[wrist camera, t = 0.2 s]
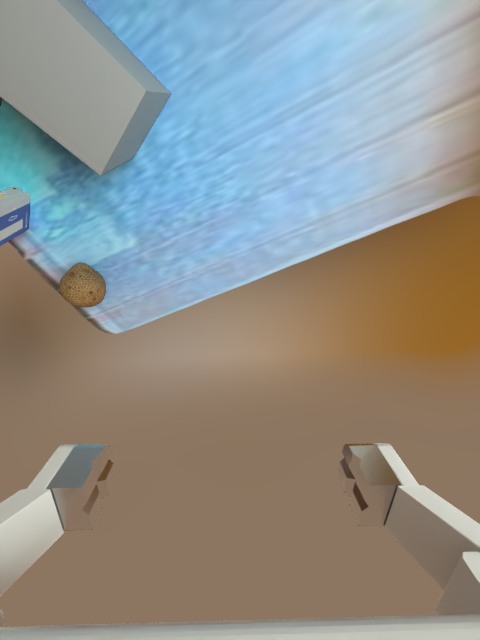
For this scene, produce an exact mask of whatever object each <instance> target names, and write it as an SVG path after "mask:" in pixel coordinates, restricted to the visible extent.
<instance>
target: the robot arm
mask: <svg viewBox="0 0 480 640" xmlns="http://www.w3.org/2000/svg"><path fill="white" fill-rule="evenodd" d="M342 453H343V455H344V459H342V460H341V462H340V464H339V478H340V482H341V485H342V488H343V490H344V492H345V493H346V494H347V495H348V496H349V497H351V500H350V504H349V505H350V508H351V510H352V512H353V515H354V517H355V520H356V522H357V524H358V526H385V529H386V530H387V531H388V532H389V533H390V534H391V535H392V536H393V537H394V538H395V539H396V540H397V541H398V543H399V544H400V545H401V546H402V547H403V548H404V549H405V550H406V551H407V552H408V553H409V554H410V555H411V556H412V557H413V558H414V559H415V560H416V561H417V562H418V563H419V565H420V566H421V567H422V568H423V569H424V570H425V571H426V572H427V573H428V574H429V575H430V576H431V577H432V578H433V579H434V580H435V581H436V582H437V583H438V584H439V585H440V586H441V588H443V593H442V594H441V596H440V598H439V600H438V602H437V605H436V608H435V610H436V612H437V614H438V615H430V616H429V615H427V616H394V617H393V616H392V617H391V616H390V617H356V618H355V617H354V618H318V619H280V620H279V619H278V620H241V621H207V622H206V621H205V622H168V623H133V624H97V625H61V626H24V627H2V626H3V624H4V622H5V617H4V614H3V612H2V610H1V608H0V640H480V524H478V523H477V522H476V521H474V520H473V519H471V518H470V517H468V516H467V515H465V514H464V513H463V512H461V511H460V510H458V509H457V508H455V507H454V506H452V505H451V504H450V503H448V502H447V501H445V500H444V499H442V498H441V497H439V496H438V495H437V494H435V493H434V492H432V491H431V490H429V489H428V488H426V487H425V486H419V484H418V483H417V482H416V480H415V479H414V477H413V476H412V475H411V473H410V472H409V470H408V469H407V467H406V466H405V465H404V463H403V462H402V460H401V459H400V457H399V456H398V455H397V453H396V452H395V450H394V449H393V448H392V446H391V445H389V444H388V443H385V444H384V443H381V444H345V445H344V447H343V450H342ZM110 455H111V449H110V446H108V445H84V444H82V445H80V444H78V445H69V444H63V445H61V446H60V447H58V448H57V450H56V451H55V452H54V454H53V455H52V456H51V458H50V459H49V460H48V461H47V463H46V464H45V466H44V467H43V468H42V469H41V471H40V472H39V473H38V475H37V476H36V478H35V479H34V480H33V481H32V483H31V484H30V485H29V487H28V488H27V489H22V490H20V491H19V492H17V493H15V494H14V495H12V496H11V497H9V498H8V499H6V500H5V501H3V502H2V503H0V596H1V595H2V594H3V593H4V592H5V591H6V590H7V589H8V588H9V587H10V586H11V585H12V584H13V583H14V582H15V581H16V580H17V579H18V578H19V577H20V576H21V575H22V574H23V573H24V572H25V571H26V570H27V569H28V568H29V567H30V566H31V565H32V564H33V563H34V562H35V561H36V560H37V559H38V558H39V557H40V556H41V555H42V554H43V553H44V552H45V551H46V550H47V549H48V548H49V547H50V546H51V545H52V544H53V543H54V542H55V541H56V540H57V539H58V538H59V537H60V536H61V535H62V534H63V533H64V531H75V530H92V529H93V527H94V525H95V523H96V520H97V519H98V516H99V514H100V512H101V509H102V504H101V500H102V499H103V498H104V497H105V496H107V495H108V493H109V491H110V489H111V486H112V483H113V478H114V463H113V462H112V461H111V460H109V457H110Z"/></svg>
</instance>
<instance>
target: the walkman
mask: <svg viewBox="0 0 480 640" xmlns="http://www.w3.org/2000/svg"><path fill="white" fill-rule="evenodd" d="M29 215H30V194H28V193H26V192H24V191H23V190H22V189H19V188H17V187H15V186H14V187H12V188H9V189H6V190H4V191H1V192H0V246H1V245H2V244H4V243H6V242H8V241H9V240H11V239H13V238H14V237H16V236H18V235H19V234H21V233H23V232H24V231H26V230H28V229H29Z"/></svg>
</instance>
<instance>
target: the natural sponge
mask: <svg viewBox="0 0 480 640" xmlns="http://www.w3.org/2000/svg"><path fill="white" fill-rule="evenodd" d="M59 288H60V292H61V294H62V296H63V298H64V299H65V300H66V301H67V302H69V303H70V304H72V305H75V306H78V307H92V306H95V305H97V304H99V303H100V302H101V301H102V300H103V299H104V296H105V293H106V286H105V281H104V279H103V277H102V276H101V275H100V274H99V273H98V272H97V271H95V270H94V269H92V268H91V267H90V266H89V265H87V264H85V263H78V264H76V265H74V266H73V267H72V268H71V269H70V270H69V271H68V272H67V273H66V274H65V275H64V276H63V277H62V279H61V281H60V286H59Z"/></svg>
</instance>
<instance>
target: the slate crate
mask: <svg viewBox="0 0 480 640" xmlns="http://www.w3.org/2000/svg"><path fill="white" fill-rule="evenodd" d="M170 95H171V93H170V92H169V91H168V90H167V89H166V88H165V87H164V85H163V84H162V83H161V82H160V81H159V80H158V79H157V78H156V77H155V76H154V75H153V74H152V73H151V72H150V71H149V70H148V69H147V68H146V67H145V66H144V65H143V63H142V62H141V61H140V60H139V59H138V58H137V57H136V56H135V55H134V54H133V53H132V52H131V51H130V50H129V49H128V48H127V47H126V46H125V45H124V44H123V42H122V41H121V40H120V39H119V38H118V37H117V36H116V35H115V34H114V33H113V32H112V31H111V30H110V29H109V28H108V27H107V26H106V25H105V24H104V23H103V22H102V20H101V19H100V18H99V17H98V16H97V15H96V14H95V13H94V12H93V11H92V10H91V9H90V8H89V7H88V6H87V5H86V4H85V3H84V2H83V1H82V0H0V97H2V98H3V99H4V100H5V101H7V102H8V103H9V104H10V105H12V106H13V107H14V108H15V109H17V110H18V111H19V112H20V113H22V114H23V115H24V116H26V117H27V118H28V119H29V120H31V121H32V122H33V123H34V124H36V125H37V126H38V127H39V128H41V129H42V130H43V131H45V132H46V133H47V134H48V135H50V136H51V137H52V138H53V139H55V140H56V141H57V142H58V143H60V144H61V145H62V146H63V147H65V148H66V149H67V150H69V151H70V152H71V153H72V154H74V155H75V156H76V157H77V158H79V159H80V160H81V161H82V162H84V163H85V164H86V165H88V166H89V167H90V168H91V169H93V170H94V171H95V172H96V173H98V174H99V175H100V176H101V175H103V174H104V173H106V172H108V171H110V170H112V169H114V168H116V167H118V166H119V165H121V164H123V163H125V162H127V161H129V160H131V159H133V158H134V157H135V155H136V153H137V151H138V150H139V148H140V146H141V145H142V143H143V141H144V140H145V138H146V136H147V134H148V133H149V131H150V129H151V128H152V126H153V124H154V123H155V121H156V119H157V117H158V116H159V114H160V112H161V111H162V109H163V107H164V105H165V104H166V102H167V100H168V99H169V97H170Z"/></svg>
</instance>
